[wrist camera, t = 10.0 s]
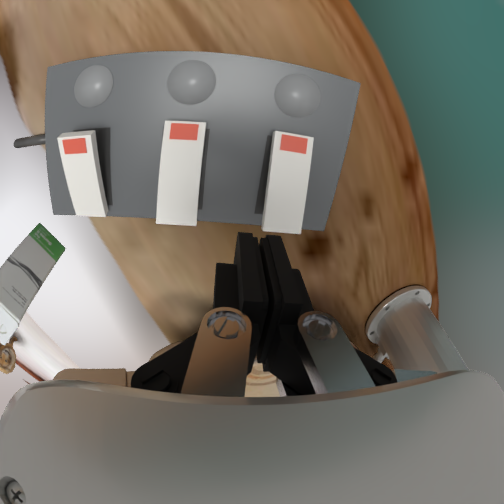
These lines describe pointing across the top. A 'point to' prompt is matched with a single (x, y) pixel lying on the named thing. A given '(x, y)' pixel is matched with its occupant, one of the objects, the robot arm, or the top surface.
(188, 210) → the middle rocker
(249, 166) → the grey switch panel
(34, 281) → the ink box
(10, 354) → the lion figurine
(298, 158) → the far-end rocker
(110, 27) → the top surface
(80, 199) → the block
